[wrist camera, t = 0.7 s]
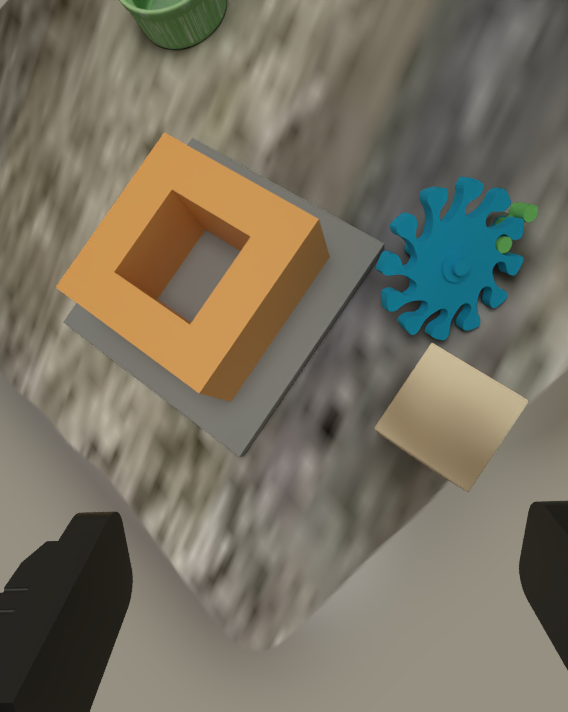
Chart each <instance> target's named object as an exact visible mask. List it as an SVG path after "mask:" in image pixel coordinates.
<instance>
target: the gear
mask: <svg viewBox="0 0 568 712" xmlns="http://www.w3.org/2000/svg"><path fill="white" fill-rule="evenodd" d="M483 186H484V185H483V184H482V183H481V182H480V181H478V180H476V179H473V178H468V177H460V178H459V179H458V181H457V183H456V186H455V196H454V200H453V203H452V205H451V207H450V209H449V210H448V212H447V213H446V215H445V216H444V217H443V219H441V220H440V218H439V213H440V210H441V209H442V207H443V206H444V204H445V203H446V201H447V198H448V191H447V188H441V187H429V188H426V189H424V190H421V193H420V201H421V203H422V205H423V208H424V211H425V226H424V231H423V234H422V235H421V236H420V237H419V238H416V229H417V220H416V218H415V216H414V215H412V214H408V213H405V212H404V213H402V214H400V215H399V216H397V217H396V218H395V219H394V220H393V222H392V223H391V224H390V229H391V231H392V233H394V234H396V235H398V236H400V237H401V238H402V239H403V240H404V241H405V242H406V245H405V252H406V253H407V254H409V255H410V260H409V261H408V263H407V264H405V265H402V262H401V259H400V257H399V256H398V255H396V254H394V253H392V252H390V251H383V252H382V254H381V255H380V257H379V259H378V262H377V266H376V269H377V270H378V271H379V272H381V273H383V274H385V275H387V276H391V275H397V274H400V275H405V276H406V277H407V278H408V279H409V281H410V284H409V287H408V289H407V290H406V291H404V292H398V291H397V290H395V289H393V288H391V287H387V288H384V289H383V290H382V291H381V303H382V307H383V308H385V309H386V310H388V311H390V312H393V311H396V310H398V309H399V308H400V307H401V306H403V305H404V304H406V303H408V302H411V301H417V300H421V306H420V307H419V309H418V310H416V311H414V312H405V313H403V314H401V315H400V316H399V317H398V319H397V320H398V323H399V324H400V326H401V327H402V328H403V329H404V330H405V331H406V332H408V333H409V334H411V335H414V334H416V333H417V332H418V331H419V330H420V328H421V326H422V324H423V323H424V321H425V320H426V319H427V318H428V317H429V316H430V315H431V314H433V313H434V312H436V311H438V310H440V309H441V312H440V315H439V316H438V317H437V318H436V319H434V320H432V321H431V322H429V323H428V324H427V326H426V328H425V332H426V333H427V334H429V335H430V336H432V337H433V338H435V339H438V340H445V339H446V338H447V337H448V335H449V332H450V323H451V320H452V318H453V316H454V314H455V313H456V311H457V310H458V309H459V307H460V306H461V305H463V304H464V306H463V309H462V311H461V312H460V313H459V315H458V316H457V318H456V325H457V326H458V327H459V328H461V329H463V330H465V331H467V330H472V329H474V328H477V327H479V325H480V317H479V315H478V313H477V300H478V296H479V292H480V291H481V289H482V288H484V291H483V295H482V301H483V303H484V304H486V305H488V306H490V307H492V308H496V307H498V306H499V305H500V304H502V303H503V302H504V301H505V300H506V298H507V293H506V291H505V290H502V289H500V288H499V287H498V286H497V285H496V283H495V281H494V278H493V274H492V270H493V267H494V266H495V264H496V263H498V268H499V270H500V271H501V272H504V273H507V274H509V275H516V274H517V272H518V271H519V269H520V267H521V265H522V263H523V260H524V258H523V257H522V256H520V255H517V254H514V253H506V252H508V251H509V250H510V248H511V246H512V240H518V239H520V238H521V237H522V235H523V230H524V221H525V222H531V221H533V220H534V219H535V218H536V216H537V214H538V208H537V206H536V205H532V204H526V203H521V202H515V203H513V204H512V205H511V207H510V209H509V214H508V213H506V212H502V211H505V210H506V209H507V208H508V207H509V206H510V204H511V200H510V197H509V195H508V193H507V192H506V190H505V189H503V188H496V187H495V188H492V189H490V190H489V191H488V192H487V194H486V196H485V198H484V200H483V201H482V203H481V204H480V205H479V206H478V207H477V208H476V209H475V210H474V211H472V212H471V213H469V214H467V215H465V208H466V206H467V204H468V203H469V202H470V201H472V200H474V199H476V198H477V197H478V196H479V195H480V194H481V192H482V190H483ZM511 239H512V240H511ZM501 253H504V254H501Z"/></svg>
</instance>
